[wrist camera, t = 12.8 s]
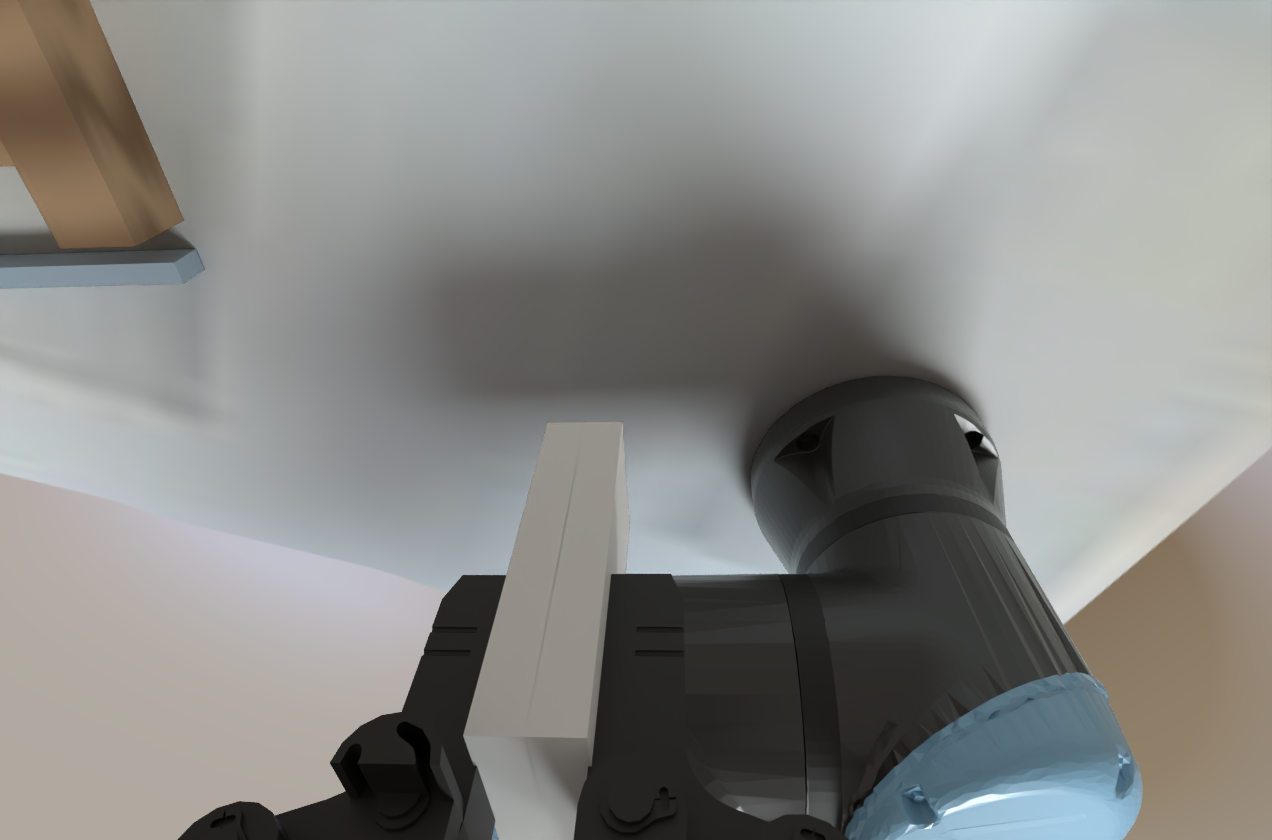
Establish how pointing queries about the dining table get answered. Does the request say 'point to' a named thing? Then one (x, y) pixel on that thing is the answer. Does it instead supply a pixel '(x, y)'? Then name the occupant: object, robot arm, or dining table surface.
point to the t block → (77, 129)
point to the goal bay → (99, 268)
